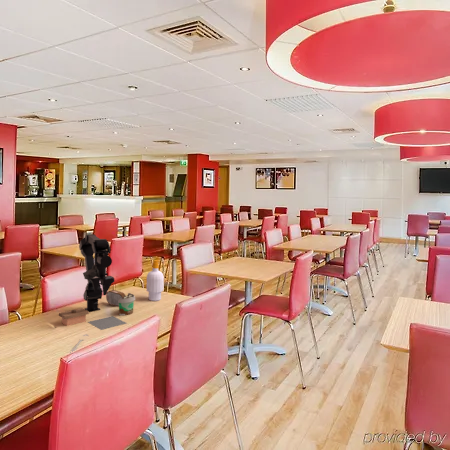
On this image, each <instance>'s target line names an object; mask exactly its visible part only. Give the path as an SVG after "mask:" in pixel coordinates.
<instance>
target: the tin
mask: <svg viewBox="0 0 450 450" xmlns="http://www.w3.org/2000/svg"><path fill="white" fill-rule="evenodd" d="M125 296H127V295H126V294H125V293H124V292H122V291H119V290H114V289H111V290H108V291H107V293H106V295H105V298H106V302H107V303H108V304H109V305H111V306H115V307H119V303H118V300H119V299H122V298H123V297H125Z"/></svg>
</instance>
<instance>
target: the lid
mask: <svg viewBox="0 0 450 450" xmlns="http://www.w3.org/2000/svg"><path fill="white" fill-rule="evenodd" d="M89 313H90V312H89V311H87V310H85V308H83V307H79V308H77V309H71V310H65V311H61V312H58V316H59V317H60V318H61V319H62V318H63V319H69V318H73V317H78V316H82V315H89Z"/></svg>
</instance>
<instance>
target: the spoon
mask: <svg viewBox="0 0 450 450" xmlns="http://www.w3.org/2000/svg"><path fill="white" fill-rule="evenodd" d="M84 336H85V337H86V336H87V337H89V334H87V333H86V334H83V335H82V337H84ZM82 341H83V339H79V340H78V342H77V343H76V345H75V346H74V347H73V348H72V349H71V350H70V351H72V352H73V351H75V352H76V351H77V348H78V346H79V344H80V343H82ZM70 351H69V354H72V353H71V352H70ZM73 353H74V352H73Z"/></svg>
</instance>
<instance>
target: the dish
mask: <svg viewBox="0 0 450 450" xmlns="http://www.w3.org/2000/svg"><path fill="white" fill-rule="evenodd" d="M86 317H87V316H86V315H82V316H78V317H73V318H69V319H63V318H62V317H61V323H62V324H63V325H64V326H67V327H69V326H73V325H76V324H81V323H85V322H86V321H87V320H86Z"/></svg>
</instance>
